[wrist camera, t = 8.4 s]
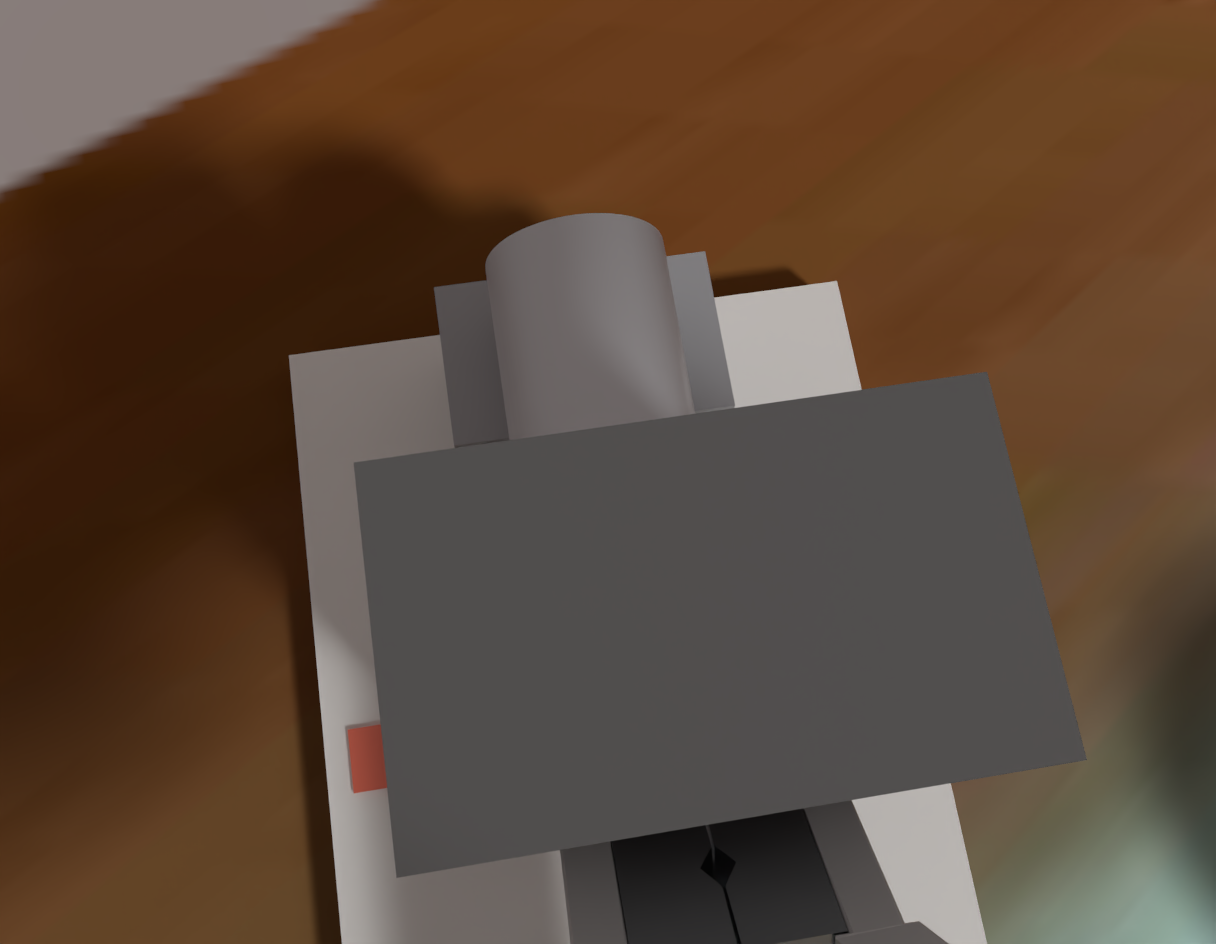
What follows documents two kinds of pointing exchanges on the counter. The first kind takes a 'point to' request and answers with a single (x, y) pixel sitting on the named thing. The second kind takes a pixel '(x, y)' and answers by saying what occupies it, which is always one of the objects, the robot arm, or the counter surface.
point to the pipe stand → (535, 406)
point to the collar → (704, 621)
